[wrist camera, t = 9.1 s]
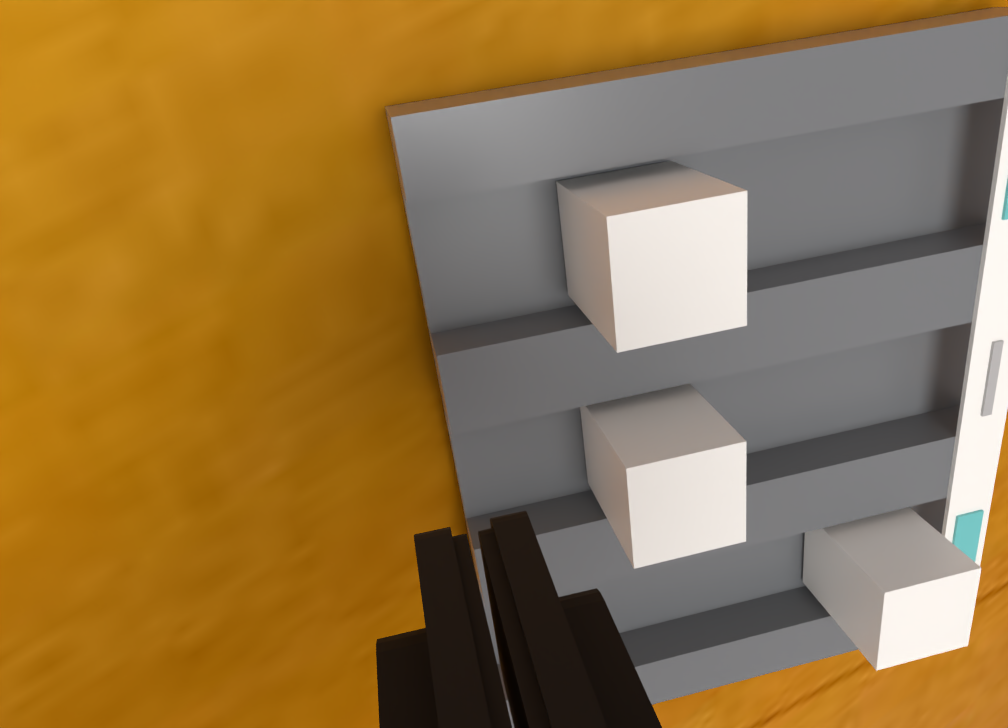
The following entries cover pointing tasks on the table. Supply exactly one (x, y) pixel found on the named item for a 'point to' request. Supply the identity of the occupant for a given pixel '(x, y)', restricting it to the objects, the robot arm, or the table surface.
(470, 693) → the robot arm
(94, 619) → the table surface
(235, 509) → the table surface
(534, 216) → the switch panel
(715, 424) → the switch tab middle
